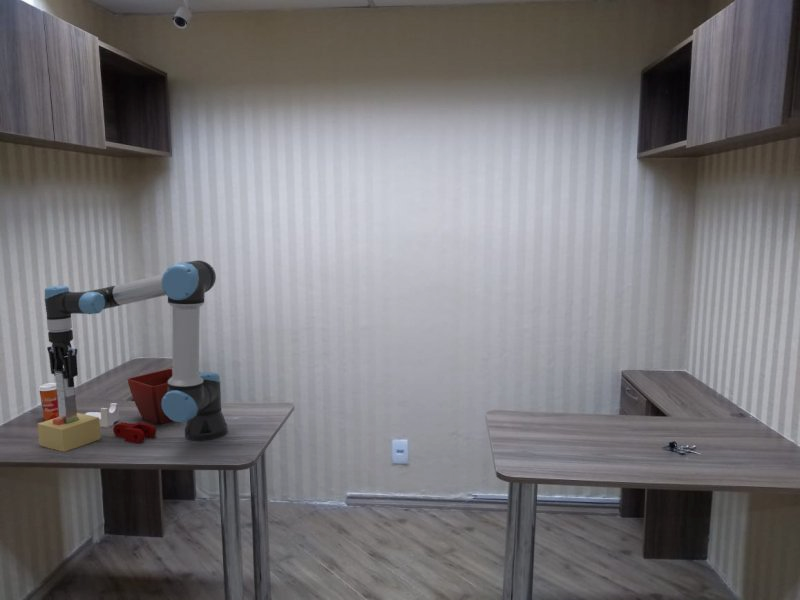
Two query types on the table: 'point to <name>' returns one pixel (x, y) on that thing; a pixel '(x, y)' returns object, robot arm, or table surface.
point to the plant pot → (151, 394)
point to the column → (65, 399)
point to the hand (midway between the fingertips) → (66, 394)
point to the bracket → (107, 415)
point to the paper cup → (49, 401)
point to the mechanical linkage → (134, 431)
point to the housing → (69, 432)
